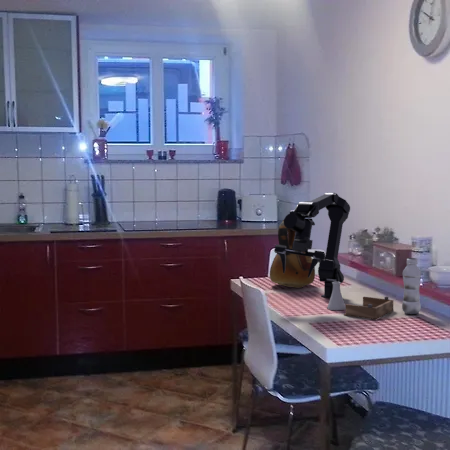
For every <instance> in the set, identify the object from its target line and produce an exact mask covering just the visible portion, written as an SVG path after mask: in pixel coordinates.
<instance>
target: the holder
mask: <svg viewBox="0 0 450 450" xmlns="http://www.w3.org/2000/svg"><path fill="white" fill-rule="evenodd" d="M394 302H395V301H394V299H390V298H389V296H384V298H378V297H370V296H363V297H362V305H358V304H352V303H351V304H349V303H346V304H345V306H346V309H345V313H344V314H343V315H344V316H347V317H353V318H354V317H356V318H360V319H361V318H362V319H369V320H375V321H377V320H379V319H380V318H382V317H384V316H387V315H388V314H390V313H392V312H394Z"/></svg>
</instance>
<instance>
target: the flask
mask: <svg viewBox="0 0 450 450" xmlns="http://www.w3.org/2000/svg"><path fill="white" fill-rule="evenodd" d="M332 284H333V291H332V295H331V298H329V301H328V304H327V308H326V309H328V310H330V311H346V304H345V300H344V299H343V295H342V291H341V284H342V283H341V282H332Z"/></svg>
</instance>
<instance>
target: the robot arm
mask: <svg viewBox="0 0 450 450" xmlns="http://www.w3.org/2000/svg"><path fill="white" fill-rule="evenodd" d="M325 208H326V209H325ZM323 209H325V210H327V211H328V212H327V215H328V218H329V220H330V223H329V224H330V226H329V232H328V238H327V243H326V251H322V250H321V251H320V250H314V251H309V250H312V247H313V239H311V236H312V230H313V229H312V228H313V226H315V225H316V223H315V222H314V220H313V218H315V217H317V216H318V215H319V213H320V211H321V210H323ZM350 211H351V206H350V203H348V201H347V200H346V199H345V198H342V197H341V196H340V195H339V194H338V193H336V192H325V193H323V195H320V196H318V197H316V198H315V199H312V200H305V201H299V202H298V203H297V205H296V207H295V208H294V210H289V213H288V214H287V215H286V216H285V217H284V219H283V220H284V226H285V227H286V228H288V229H291V230H293V231H295V232H296V233H295V239H294V241H293V246H292V248H293V249H289V248H287V247H286V246H284V245H279V243H278V244H276V245H275V246H274V250H273V251H274V253H275V254H278V256H280V257H281V261H282V267H283V273H285V266H286V255H285V254H286V253H290V254H296V255H302V256H309V257H311V258H312V263H311V266H310V270H309V273H308V278H309V277H310V275H311V273H312V271H313V269H314V267H316V266H317V264H318V268H317V269H318V270H317V274H318V279H319V282H324V287H323V288H324V294H322V295H321V296H320V297H321V298H328V299H330V298H331V295H332V291H333V284H332V282H341V284H342V283H344V280H345V276H344V274H343V272H342V270H341V264H340V262H339V259H338V258H339V253H340V252H339V250H340V246H341V245H340V244H341V237H342V232H343V231H342V230H343V224H344V223H345V222H346V220H347V219H348V218H349V215H350ZM303 252H305V253H303Z"/></svg>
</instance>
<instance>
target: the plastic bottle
mask: <svg viewBox="0 0 450 450" xmlns="http://www.w3.org/2000/svg"><path fill="white" fill-rule="evenodd" d="M421 272H422V271H421V270H420V268H419V266H418V258H415V257H408V258H406V266H405V267H404V269H403V270H402V280H403V296H402V297H403V298H402V303H401V307H402V308H401V309H402V311H403V313H404V314H407V315H408V314H409V315H417V314H419V313H420V312H421V307H422V306H421V301H420V282H421V277H422V273H421Z"/></svg>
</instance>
